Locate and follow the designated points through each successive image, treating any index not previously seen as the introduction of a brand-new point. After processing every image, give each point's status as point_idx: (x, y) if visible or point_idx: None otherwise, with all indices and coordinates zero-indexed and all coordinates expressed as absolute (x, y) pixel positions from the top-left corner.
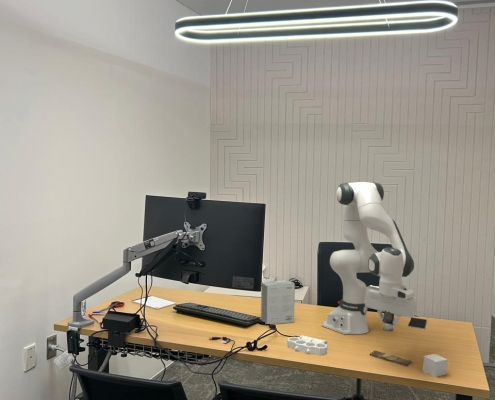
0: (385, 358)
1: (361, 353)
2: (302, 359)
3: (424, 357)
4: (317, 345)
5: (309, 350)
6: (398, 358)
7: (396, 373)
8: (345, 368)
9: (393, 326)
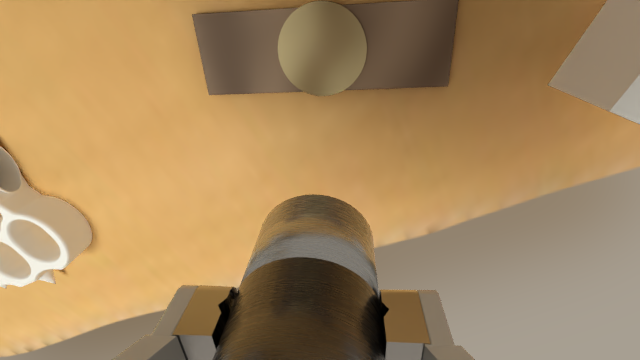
0: (309, 91)
1: (169, 102)
2: (94, 311)
3: (611, 111)
4: (17, 230)
5: (48, 275)
6: (370, 31)
7: (426, 207)
8: None
9: (376, 274)
